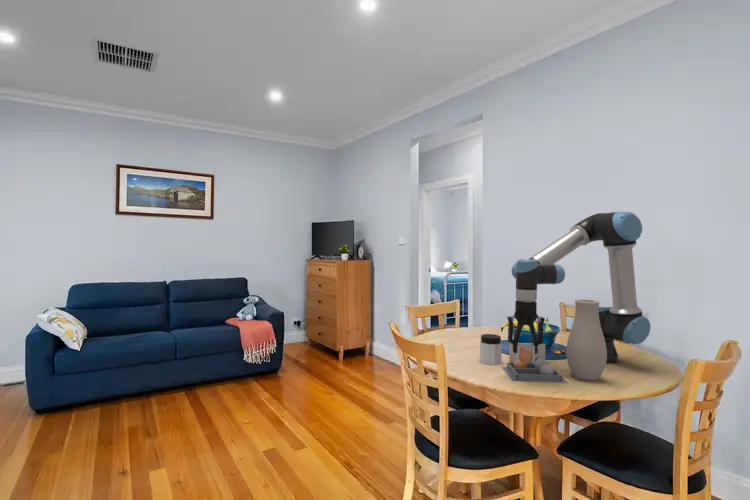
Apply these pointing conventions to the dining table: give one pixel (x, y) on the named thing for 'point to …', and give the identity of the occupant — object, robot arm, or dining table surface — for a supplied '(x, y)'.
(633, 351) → the dining table surface
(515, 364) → the terracotta ball
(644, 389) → the dining table surface
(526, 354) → the ball
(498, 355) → the jar
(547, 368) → the grey ball
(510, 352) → the rack
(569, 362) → the vase
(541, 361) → the grey ball
